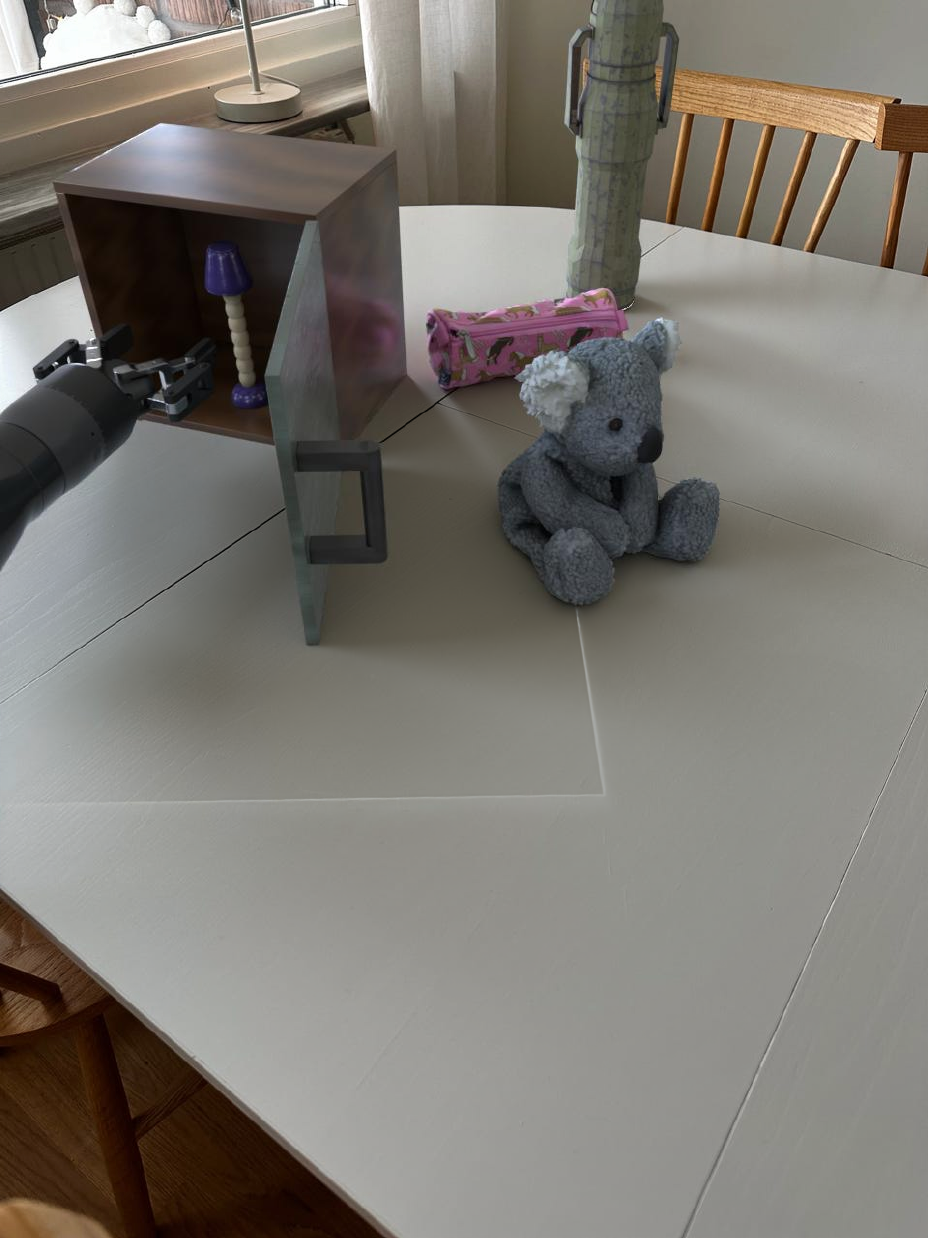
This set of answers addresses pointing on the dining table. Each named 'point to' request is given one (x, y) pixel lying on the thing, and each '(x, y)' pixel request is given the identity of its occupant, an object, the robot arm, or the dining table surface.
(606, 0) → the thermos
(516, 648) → the dining table surface
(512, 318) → the pencil case
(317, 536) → the cupboard door
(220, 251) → the toy lamp
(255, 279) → the cupboard
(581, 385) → the koala plush
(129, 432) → the robot arm
